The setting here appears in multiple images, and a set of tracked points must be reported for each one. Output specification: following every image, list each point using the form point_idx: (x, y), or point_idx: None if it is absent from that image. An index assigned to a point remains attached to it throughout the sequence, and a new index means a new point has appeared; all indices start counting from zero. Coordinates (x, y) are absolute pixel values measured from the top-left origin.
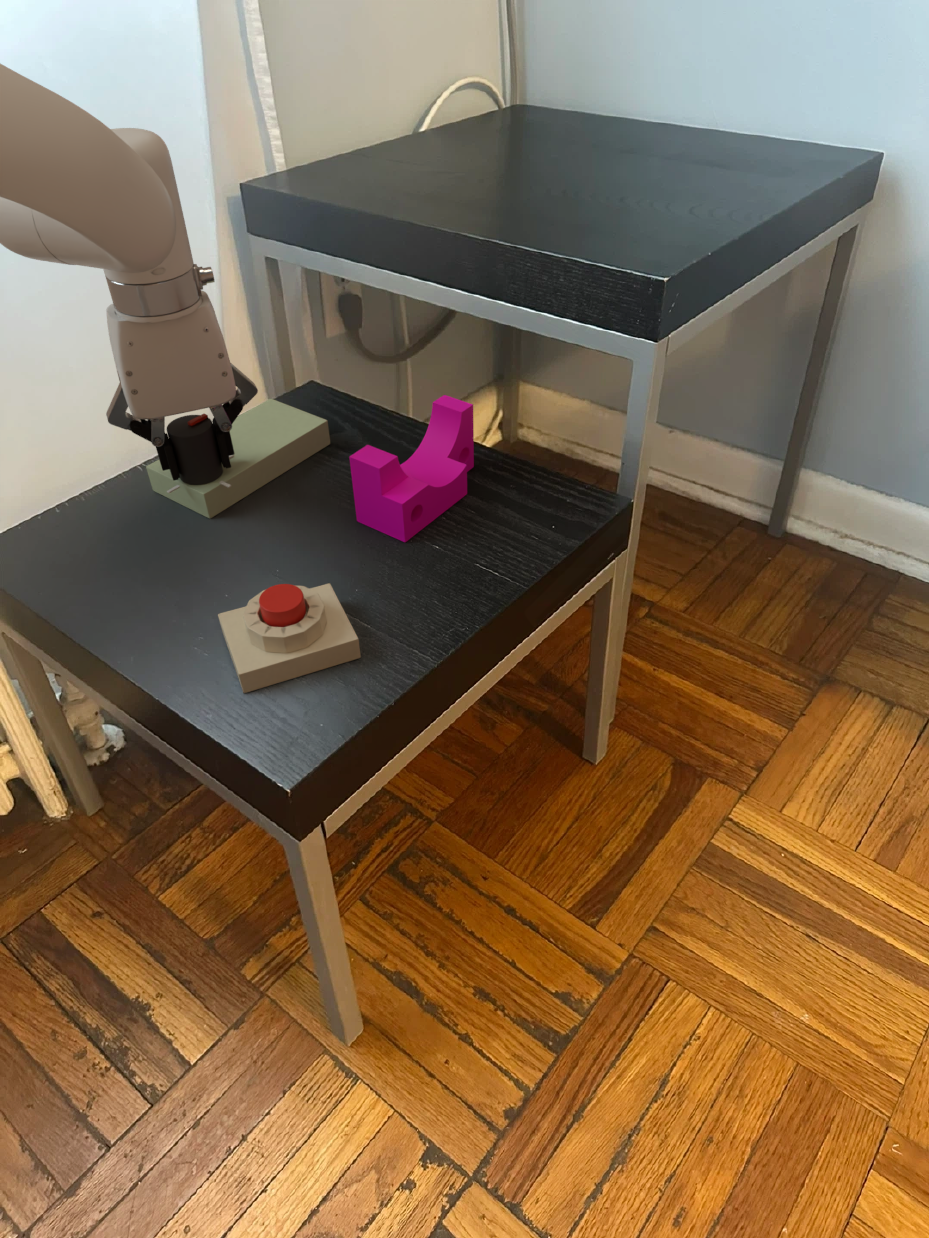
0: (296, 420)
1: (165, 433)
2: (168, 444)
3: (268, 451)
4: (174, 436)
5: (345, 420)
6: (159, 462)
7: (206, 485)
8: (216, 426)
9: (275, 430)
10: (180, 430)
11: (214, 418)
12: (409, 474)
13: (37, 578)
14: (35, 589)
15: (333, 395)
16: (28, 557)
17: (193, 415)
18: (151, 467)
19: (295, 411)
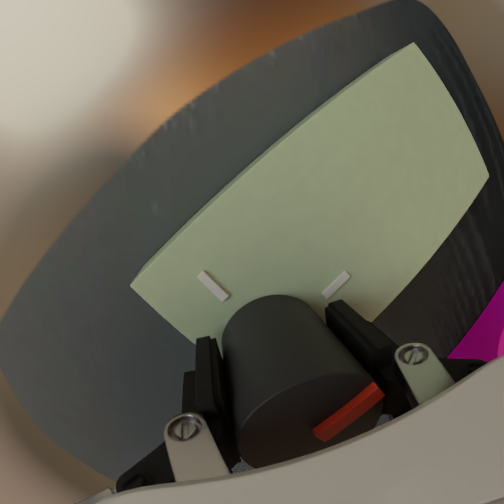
0: (458, 153)
1: (218, 404)
2: (237, 457)
3: (411, 268)
4: None
5: (470, 112)
6: (162, 273)
7: None
8: (384, 412)
9: (430, 180)
10: (285, 455)
11: (394, 387)
12: (502, 349)
13: (56, 428)
14: (64, 442)
15: (449, 36)
16: (25, 391)
17: (339, 380)
18: (145, 293)
19: (456, 117)
